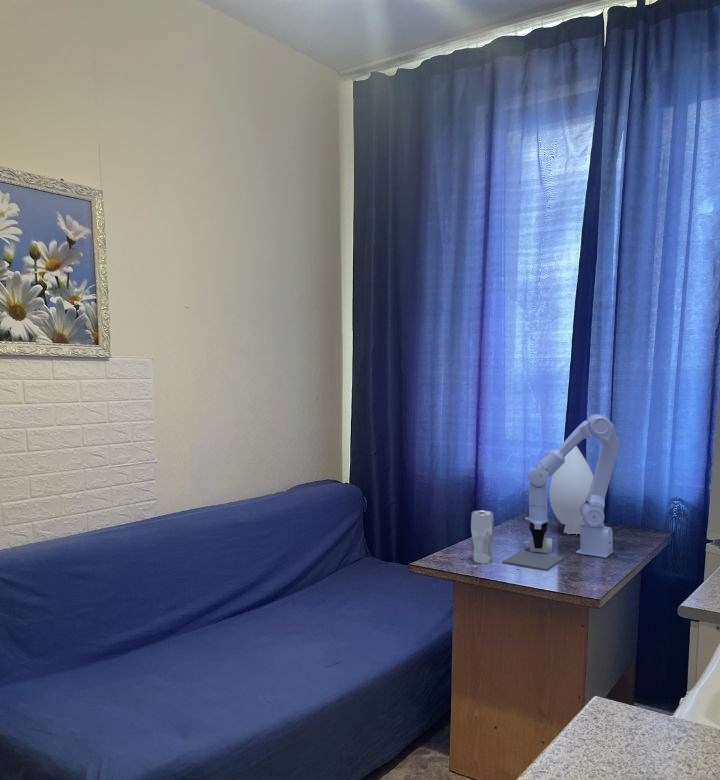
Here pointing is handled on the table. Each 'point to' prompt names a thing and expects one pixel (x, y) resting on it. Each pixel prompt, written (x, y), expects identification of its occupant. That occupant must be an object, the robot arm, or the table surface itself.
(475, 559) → the beer glass
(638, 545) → the table surface
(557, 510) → the lamp
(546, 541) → the connector
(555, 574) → the table surface
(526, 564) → the mat
